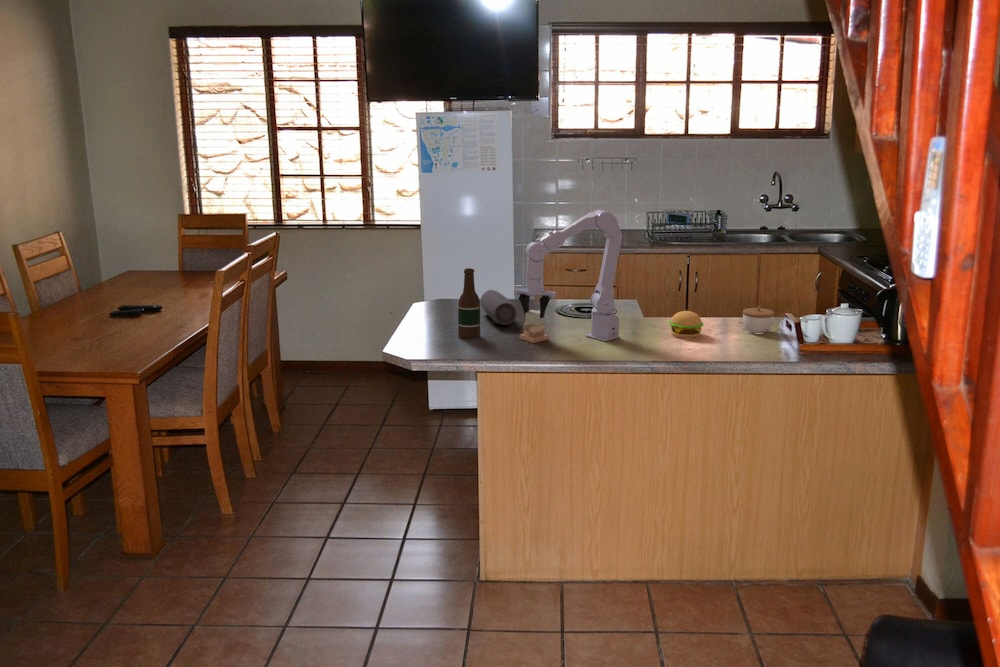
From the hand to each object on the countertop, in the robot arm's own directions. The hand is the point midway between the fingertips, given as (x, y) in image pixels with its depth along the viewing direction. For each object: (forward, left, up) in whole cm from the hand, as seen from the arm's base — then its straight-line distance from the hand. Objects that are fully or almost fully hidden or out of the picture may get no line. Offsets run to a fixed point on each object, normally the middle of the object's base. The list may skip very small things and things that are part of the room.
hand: (534, 316), depth 307 cm
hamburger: (-31, -44, -8) cm, 54 cm away
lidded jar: (-45, -67, -8) cm, 81 cm away
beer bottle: (+17, +15, -8) cm, 24 cm away
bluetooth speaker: (+28, -8, -8) cm, 30 cm away
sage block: (0, 0, -2) cm, 2 cm away
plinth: (0, 0, -8) cm, 8 cm away
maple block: (0, 0, -6) cm, 6 cm away
